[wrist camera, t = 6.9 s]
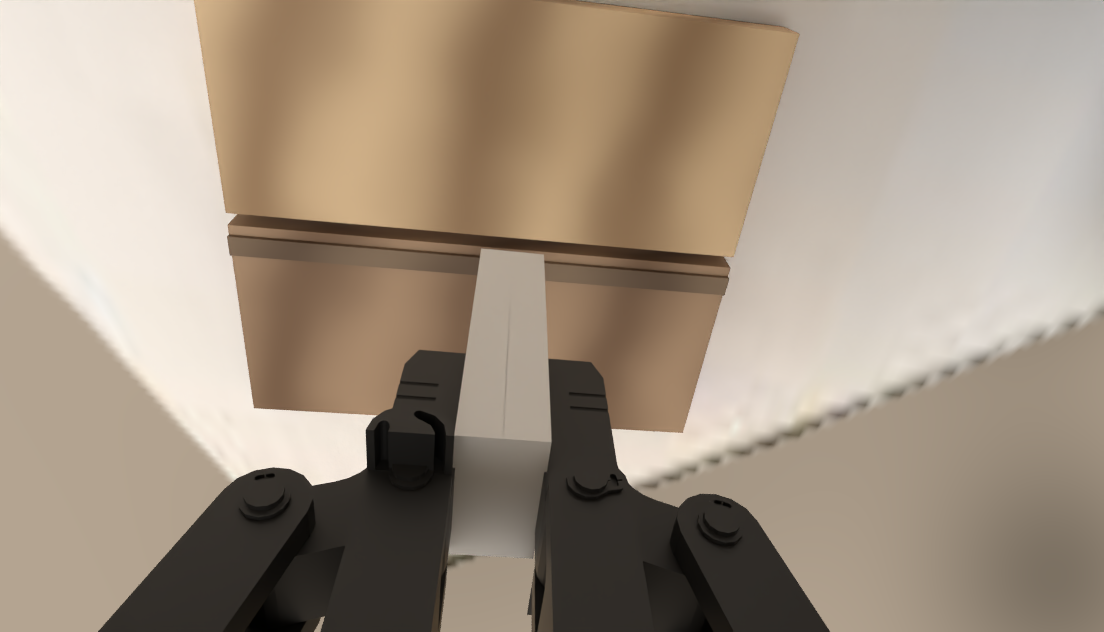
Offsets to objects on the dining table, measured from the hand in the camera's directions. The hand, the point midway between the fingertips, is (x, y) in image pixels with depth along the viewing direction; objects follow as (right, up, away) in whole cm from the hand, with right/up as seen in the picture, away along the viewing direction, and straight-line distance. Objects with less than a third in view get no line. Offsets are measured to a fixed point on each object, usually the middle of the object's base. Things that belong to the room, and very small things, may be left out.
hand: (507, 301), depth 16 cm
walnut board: (-2, -1, +14) cm, 14 cm away
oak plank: (-1, +7, +9) cm, 11 cm away
